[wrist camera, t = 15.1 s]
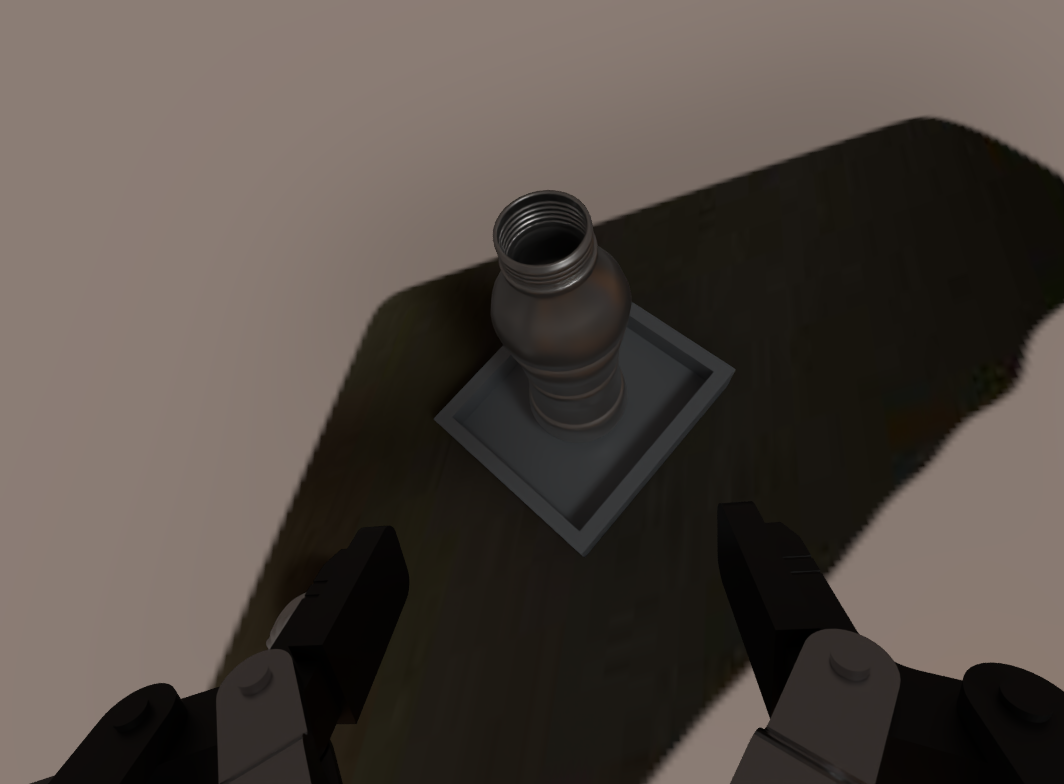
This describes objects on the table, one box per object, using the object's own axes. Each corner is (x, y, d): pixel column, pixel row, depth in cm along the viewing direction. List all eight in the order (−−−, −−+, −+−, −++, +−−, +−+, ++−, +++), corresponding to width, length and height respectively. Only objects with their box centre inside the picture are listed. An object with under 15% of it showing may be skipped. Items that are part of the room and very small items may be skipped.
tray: (584, 557, 34) (581, 554, 31) (446, 430, 39) (433, 418, 36) (727, 385, 37) (735, 369, 34) (580, 287, 42) (577, 266, 39)
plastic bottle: (532, 373, 39) (451, 177, 20) (621, 361, 38) (621, 145, 19) (538, 455, 36) (452, 317, 18) (634, 444, 35) (647, 288, 17)
